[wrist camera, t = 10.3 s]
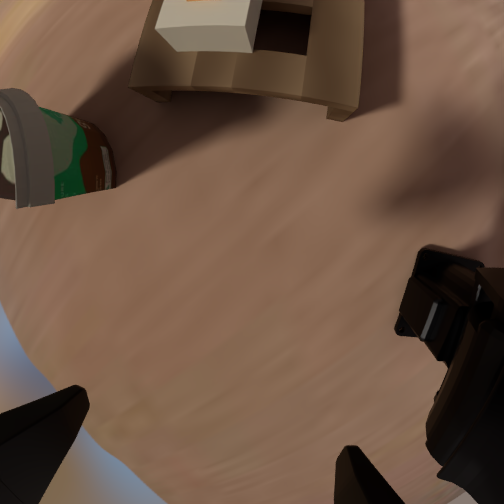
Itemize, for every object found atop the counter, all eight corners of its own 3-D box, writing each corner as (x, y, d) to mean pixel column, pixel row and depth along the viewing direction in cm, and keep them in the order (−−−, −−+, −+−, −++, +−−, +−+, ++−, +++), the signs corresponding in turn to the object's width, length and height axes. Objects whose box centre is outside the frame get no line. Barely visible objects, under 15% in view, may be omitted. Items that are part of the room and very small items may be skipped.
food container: (146, 102, 17) (45, 60, 7) (133, 190, 18) (23, 210, 9) (33, 111, 17) (-55, 104, 8) (24, 179, 19) (-64, 193, 9)
